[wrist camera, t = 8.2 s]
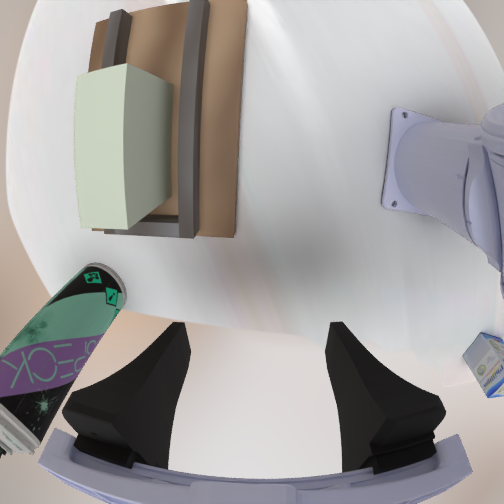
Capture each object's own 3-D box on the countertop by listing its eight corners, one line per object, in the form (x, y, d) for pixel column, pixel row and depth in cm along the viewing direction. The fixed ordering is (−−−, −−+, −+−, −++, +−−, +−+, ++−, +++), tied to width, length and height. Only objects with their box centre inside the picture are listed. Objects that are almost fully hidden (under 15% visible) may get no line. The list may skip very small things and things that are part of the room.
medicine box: (501, 337, 26) (527, 374, 18) (484, 359, 27) (507, 397, 19) (480, 331, 25) (511, 374, 17) (461, 356, 27) (487, 400, 19)
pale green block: (173, 85, 15) (127, 63, 9) (171, 196, 18) (128, 229, 12) (134, 89, 15) (76, 76, 9) (134, 196, 19) (81, 227, 12)
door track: (247, 5, 13) (245, -13, 11) (235, 232, 21) (230, 247, 18) (103, 26, 14) (84, 16, 11) (99, 225, 21) (80, 238, 18)
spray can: (112, 319, 25) (21, 480, 7) (74, 284, 24) (-40, 427, 5) (136, 290, 23) (25, 485, 5) (93, 251, 22) (-54, 414, 4)
